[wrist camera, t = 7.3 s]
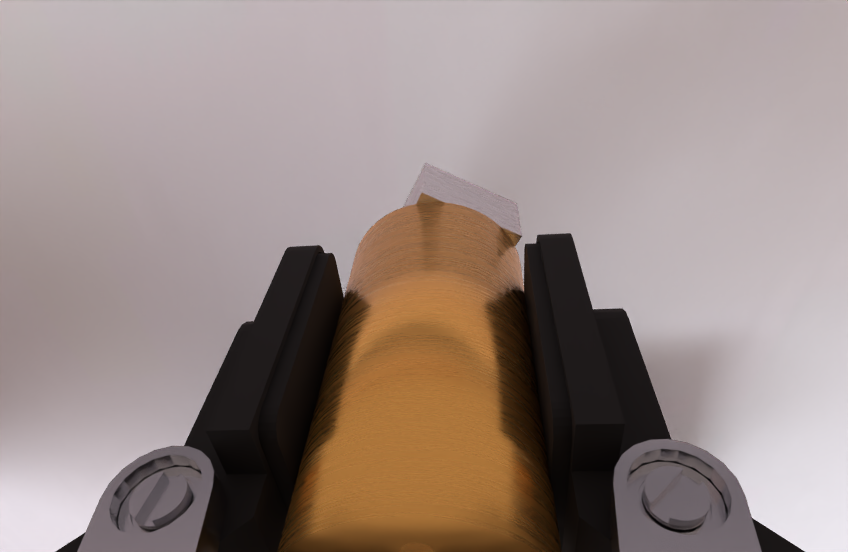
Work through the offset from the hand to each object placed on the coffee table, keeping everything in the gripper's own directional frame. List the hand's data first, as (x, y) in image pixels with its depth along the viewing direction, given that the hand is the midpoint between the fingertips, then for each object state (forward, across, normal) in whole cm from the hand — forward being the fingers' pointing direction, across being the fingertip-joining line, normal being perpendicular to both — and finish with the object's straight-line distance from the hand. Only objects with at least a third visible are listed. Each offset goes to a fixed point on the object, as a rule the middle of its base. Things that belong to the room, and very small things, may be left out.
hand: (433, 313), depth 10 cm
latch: (+2, +4, +6) cm, 8 cm away
